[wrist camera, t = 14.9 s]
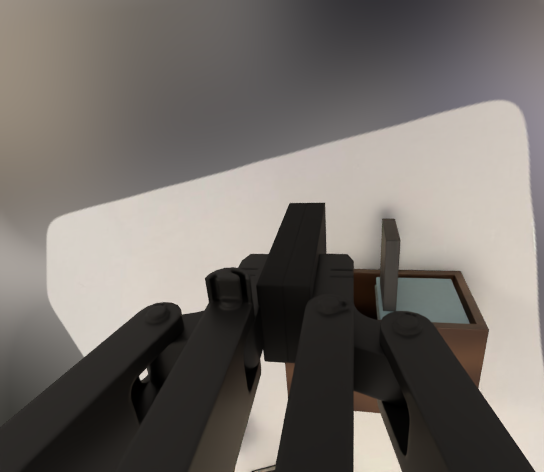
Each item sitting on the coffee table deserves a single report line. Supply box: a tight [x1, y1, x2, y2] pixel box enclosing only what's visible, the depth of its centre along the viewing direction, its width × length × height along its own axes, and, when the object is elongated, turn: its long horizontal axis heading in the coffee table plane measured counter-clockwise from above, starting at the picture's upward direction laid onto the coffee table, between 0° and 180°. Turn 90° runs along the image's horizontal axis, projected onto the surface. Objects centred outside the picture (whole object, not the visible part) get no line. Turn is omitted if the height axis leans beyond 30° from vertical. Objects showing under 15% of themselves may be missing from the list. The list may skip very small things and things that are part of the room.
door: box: [376, 219, 470, 324], centre depth 38 cm, size 8×8×8 cm
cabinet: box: [285, 269, 489, 413], centre depth 42 cm, size 11×18×10 cm, turn 94°
